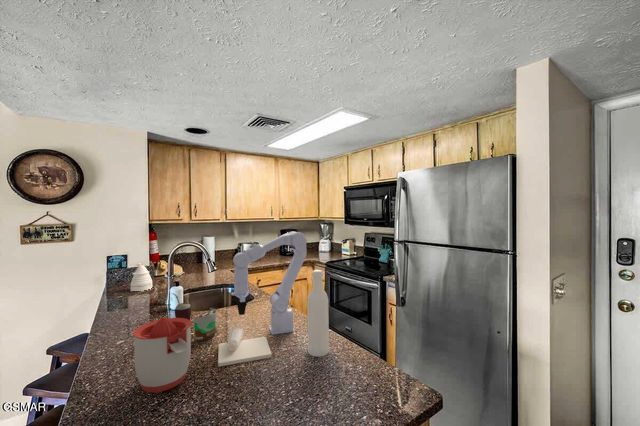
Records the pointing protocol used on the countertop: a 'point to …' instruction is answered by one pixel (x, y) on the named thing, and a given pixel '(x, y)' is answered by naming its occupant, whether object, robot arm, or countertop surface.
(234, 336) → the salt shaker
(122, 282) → the countertop surface
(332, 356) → the countertop surface
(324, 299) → the bottle
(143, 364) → the citrus juicer
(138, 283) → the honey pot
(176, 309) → the mate gourd
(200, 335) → the food container
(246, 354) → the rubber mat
